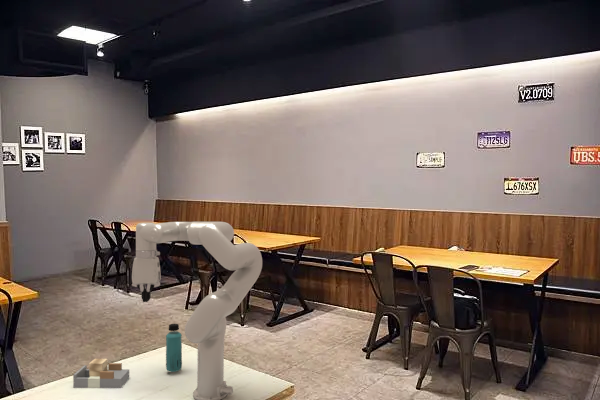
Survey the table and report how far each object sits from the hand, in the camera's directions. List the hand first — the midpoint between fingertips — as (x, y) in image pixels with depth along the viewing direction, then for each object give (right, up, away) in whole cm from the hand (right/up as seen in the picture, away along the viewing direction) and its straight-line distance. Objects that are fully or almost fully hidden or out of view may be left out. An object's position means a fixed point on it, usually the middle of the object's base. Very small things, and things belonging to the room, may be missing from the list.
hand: (146, 301), depth 181 cm
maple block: (-19, -28, 0) cm, 34 cm away
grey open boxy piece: (-17, -32, 0) cm, 36 cm away
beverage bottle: (+8, -32, +11) cm, 35 cm away
